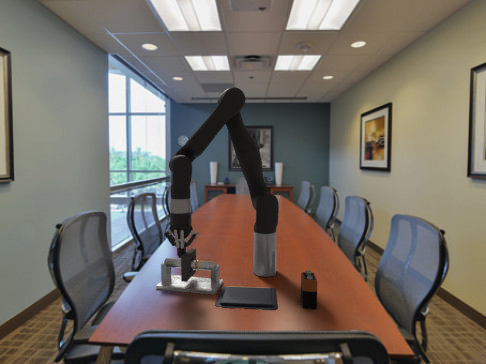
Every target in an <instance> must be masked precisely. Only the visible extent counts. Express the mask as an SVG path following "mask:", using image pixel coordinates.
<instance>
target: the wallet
mask: <svg viewBox="0 0 486 364" xmlns="http://www.w3.org/2000/svg"><path fill="white" fill-rule="evenodd" d="M219 292H220V293H219ZM219 292H218V296H217V299H216V300H217V301H215V304H214V307H215V306H216V307H222V308H221V309H234V308H244V309H243V310H258V309H262V311H277V310H278V308H279V306H278V304H277V303H278V296H277V289H276V287H261V286H260V287H259V286H258V287H256V286H235V285H233V286H232V285H231V286H230V285H226V286H225V285H224V286H222V285H221V287H220V289H219ZM216 307H215V308H216Z"/></svg>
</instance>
